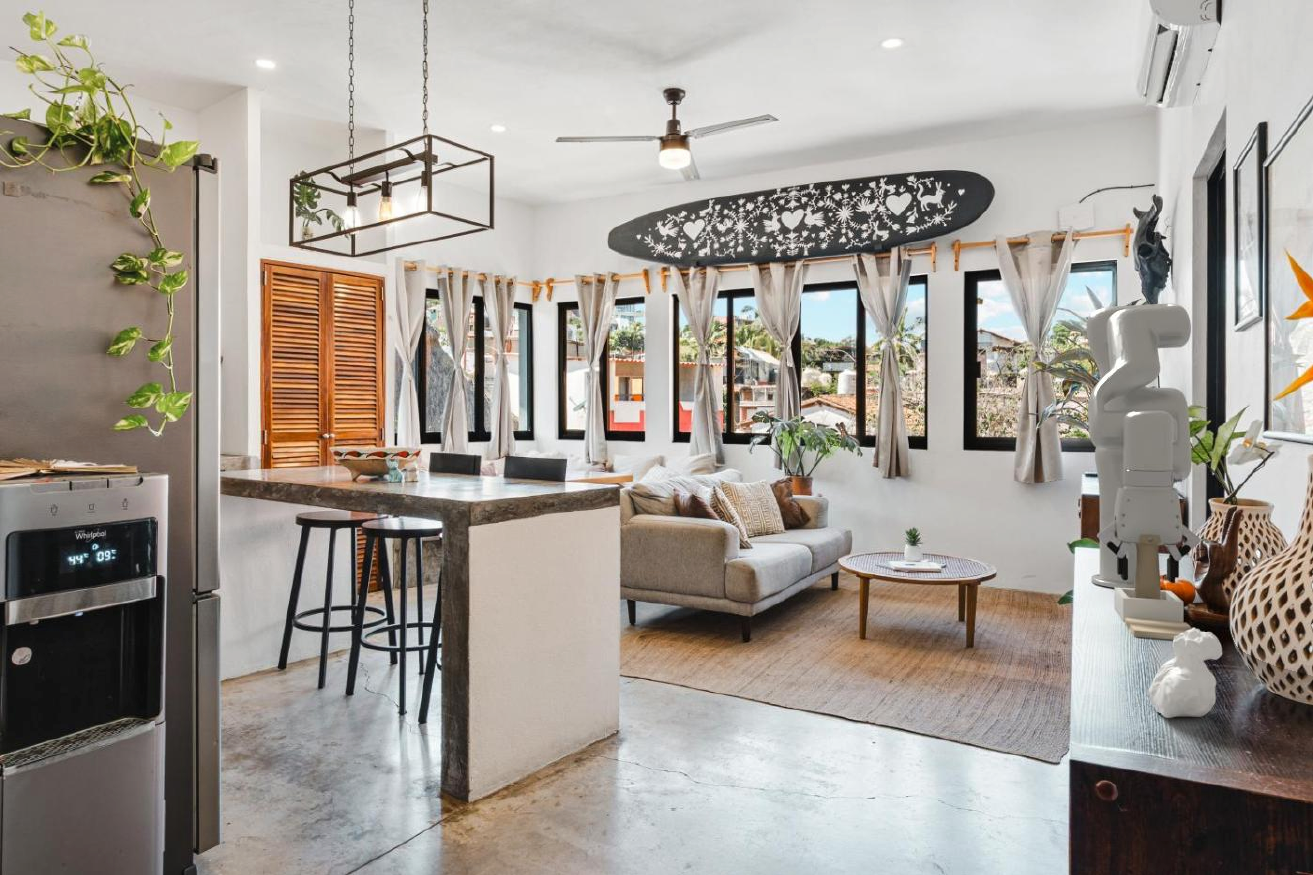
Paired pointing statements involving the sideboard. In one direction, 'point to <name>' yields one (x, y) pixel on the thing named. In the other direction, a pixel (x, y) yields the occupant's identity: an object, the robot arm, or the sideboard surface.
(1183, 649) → the white tied sack
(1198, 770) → the sideboard surface
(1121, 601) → the white open box
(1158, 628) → the oak board
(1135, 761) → the sideboard surface
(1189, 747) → the sideboard surface
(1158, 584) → the handle
